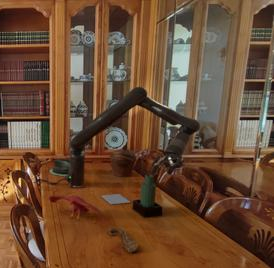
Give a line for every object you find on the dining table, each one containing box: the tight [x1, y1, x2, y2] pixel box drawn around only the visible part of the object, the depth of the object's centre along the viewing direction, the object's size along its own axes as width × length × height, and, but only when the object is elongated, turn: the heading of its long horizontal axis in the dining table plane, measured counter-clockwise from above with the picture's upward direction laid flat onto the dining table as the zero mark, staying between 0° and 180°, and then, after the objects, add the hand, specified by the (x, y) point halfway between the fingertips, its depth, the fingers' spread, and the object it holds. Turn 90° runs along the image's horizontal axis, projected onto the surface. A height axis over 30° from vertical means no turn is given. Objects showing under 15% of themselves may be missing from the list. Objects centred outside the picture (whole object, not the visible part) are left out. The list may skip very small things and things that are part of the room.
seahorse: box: [108, 227, 139, 254], centre depth 89 cm, size 6×15×2 cm, turn 11°
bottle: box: [140, 174, 157, 208], centre depth 110 cm, size 6×6×18 cm
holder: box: [132, 198, 163, 219], centre depth 111 cm, size 9×9×4 cm
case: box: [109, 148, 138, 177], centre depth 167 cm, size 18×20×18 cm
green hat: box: [48, 158, 69, 177], centre depth 174 cm, size 15×19×20 cm
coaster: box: [101, 193, 131, 206], centre depth 126 cm, size 11×11×1 cm
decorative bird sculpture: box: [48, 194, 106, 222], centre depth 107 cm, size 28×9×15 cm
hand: (160, 172), depth 114 cm, fingers open, 8 cm apart
